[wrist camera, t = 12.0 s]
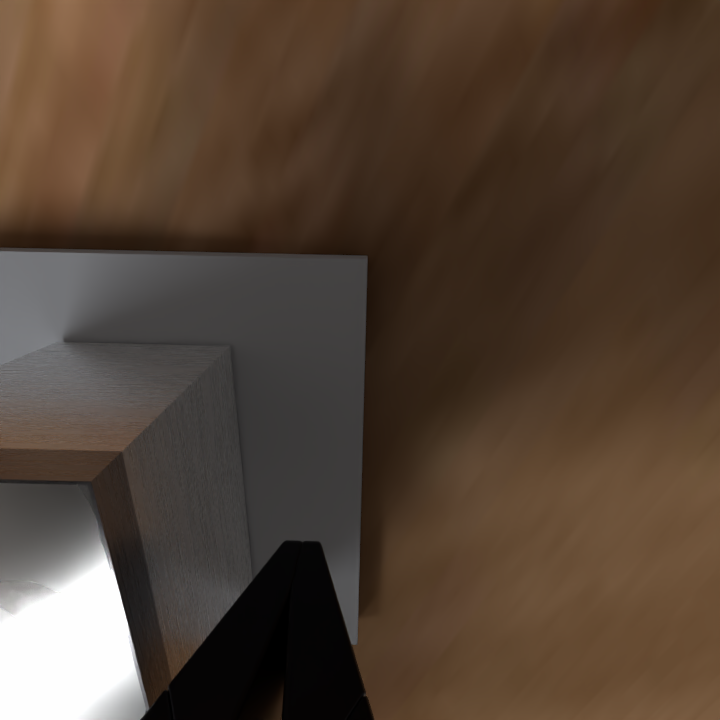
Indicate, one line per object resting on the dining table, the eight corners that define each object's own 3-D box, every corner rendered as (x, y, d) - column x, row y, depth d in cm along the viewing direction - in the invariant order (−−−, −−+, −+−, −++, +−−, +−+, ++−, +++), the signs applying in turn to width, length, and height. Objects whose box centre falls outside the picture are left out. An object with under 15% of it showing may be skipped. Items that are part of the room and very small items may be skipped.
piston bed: (357, 620, 13) (355, 719, 11) (-84, 609, 13) (-192, 705, 11) (367, 255, 9) (368, 271, 7) (-271, 241, 9) (-521, 252, 7)
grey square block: (256, 600, 12) (185, 852, 7) (120, 597, 12) (-39, 845, 7) (231, 343, 9) (90, 481, 4) (53, 339, 9) (-276, 472, 4)
